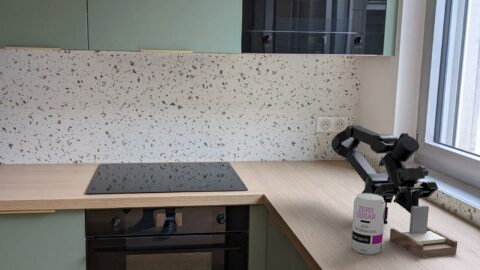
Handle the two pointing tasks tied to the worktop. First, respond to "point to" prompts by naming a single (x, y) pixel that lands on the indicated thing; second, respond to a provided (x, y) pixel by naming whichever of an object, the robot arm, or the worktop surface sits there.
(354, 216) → the supplement can
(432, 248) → the board
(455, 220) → the worktop surface
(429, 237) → the lid
